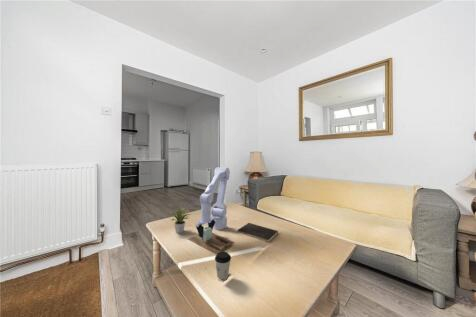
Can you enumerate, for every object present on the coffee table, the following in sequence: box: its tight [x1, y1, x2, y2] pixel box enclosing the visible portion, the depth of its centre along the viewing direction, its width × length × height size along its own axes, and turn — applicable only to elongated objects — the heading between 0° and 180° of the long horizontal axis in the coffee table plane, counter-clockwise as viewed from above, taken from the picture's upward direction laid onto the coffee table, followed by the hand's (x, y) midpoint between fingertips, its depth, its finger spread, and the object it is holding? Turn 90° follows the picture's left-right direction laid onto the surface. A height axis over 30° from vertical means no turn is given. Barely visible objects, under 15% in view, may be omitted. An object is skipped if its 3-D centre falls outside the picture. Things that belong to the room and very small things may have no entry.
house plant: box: [171, 207, 192, 234], centre depth 114 cm, size 14×14×16 cm
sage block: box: [199, 225, 213, 241], centre depth 105 cm, size 5×6×7 cm
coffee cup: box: [214, 251, 232, 282], centre depth 73 cm, size 7×7×10 cm
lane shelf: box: [187, 232, 236, 255], centre depth 102 cm, size 16×25×2 cm, turn 52°
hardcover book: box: [237, 222, 279, 243], centre depth 116 cm, size 16×23×2 cm
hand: (205, 234), depth 105 cm, fingers open, 7 cm apart
